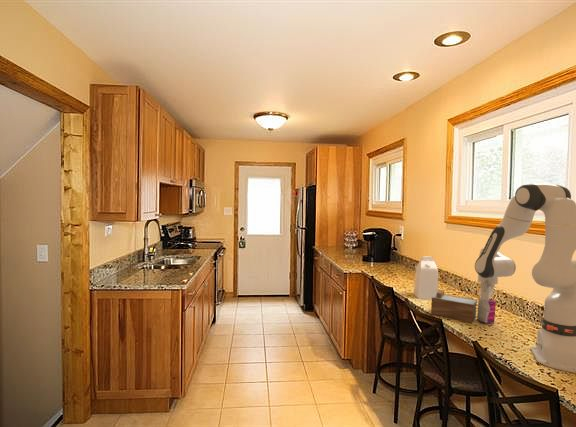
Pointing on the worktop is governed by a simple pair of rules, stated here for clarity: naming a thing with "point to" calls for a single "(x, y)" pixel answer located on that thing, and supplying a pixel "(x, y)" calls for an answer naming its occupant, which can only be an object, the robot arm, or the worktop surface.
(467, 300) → the lid
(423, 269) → the milk
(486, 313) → the supplement box
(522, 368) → the worktop surface
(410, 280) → the worktop surface
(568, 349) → the robot arm
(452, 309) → the wooden box
